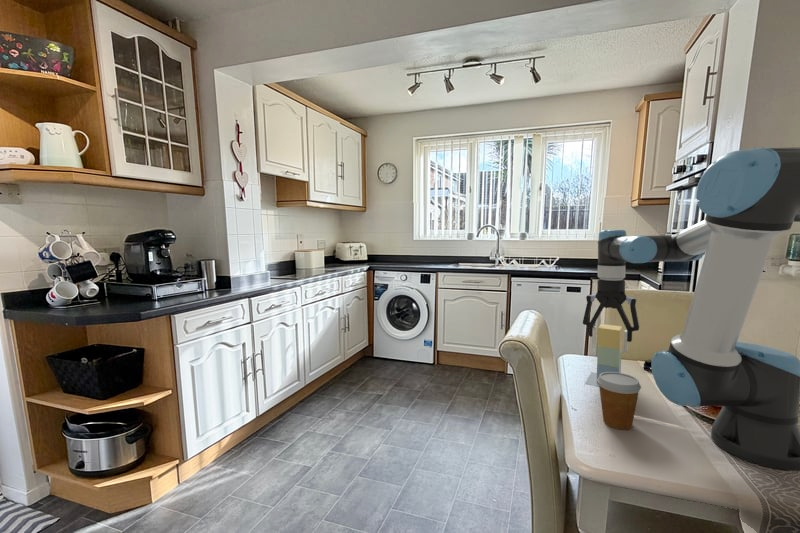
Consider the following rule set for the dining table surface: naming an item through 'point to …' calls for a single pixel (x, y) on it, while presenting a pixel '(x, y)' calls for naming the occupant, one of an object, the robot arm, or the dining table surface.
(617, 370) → the blue base brick
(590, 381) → the slate board
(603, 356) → the sage brick
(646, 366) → the black mounting plate
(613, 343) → the ochre brick
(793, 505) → the dining table surface
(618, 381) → the disposable coffee cup
